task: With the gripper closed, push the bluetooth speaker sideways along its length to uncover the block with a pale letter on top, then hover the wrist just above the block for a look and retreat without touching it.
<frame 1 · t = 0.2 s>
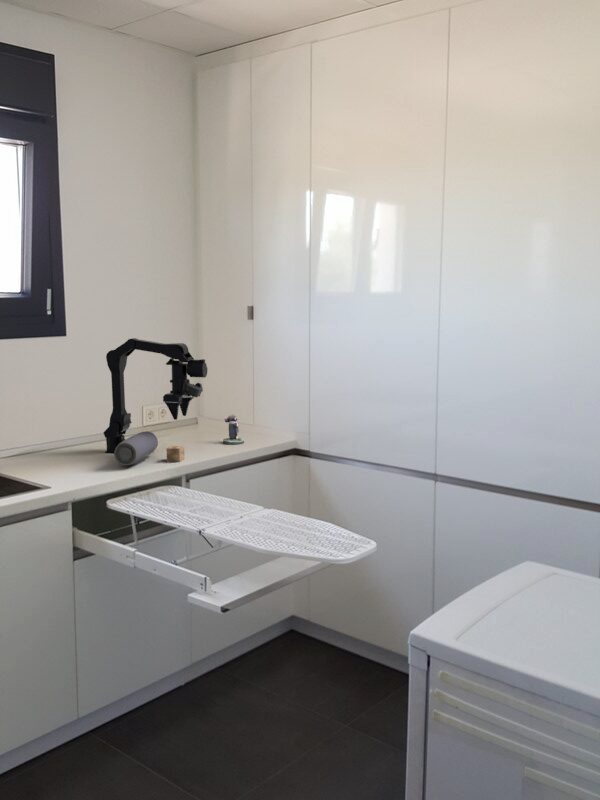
hand: (180, 417, 303), 14 cm above the worktop, fingers open, 9 cm apart
letter block: (175, 460, 293), on the worktop
bluetooth speaker: (137, 462, 292), on the worktop
figurine: (233, 443, 326), on the worktop
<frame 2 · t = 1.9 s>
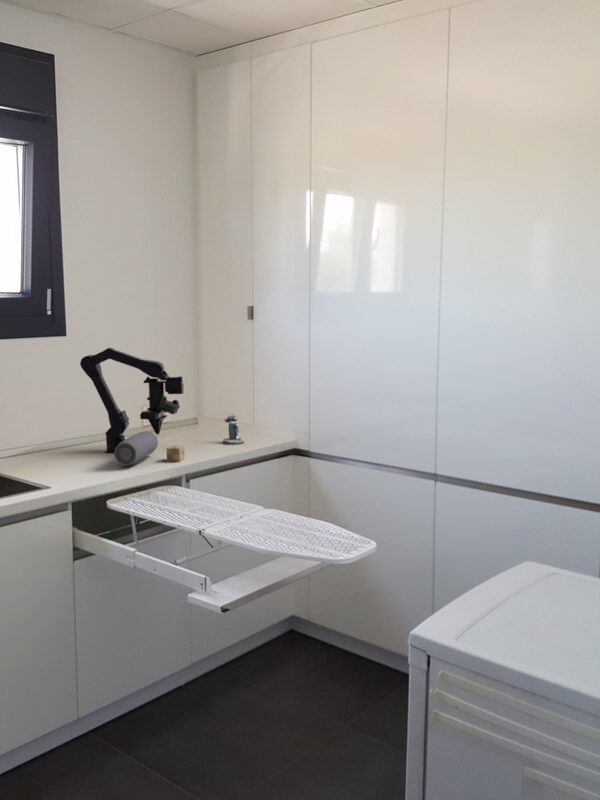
hand: (157, 434, 310), 7 cm above the worktop, fingers closed
nothing on the worktop moved.
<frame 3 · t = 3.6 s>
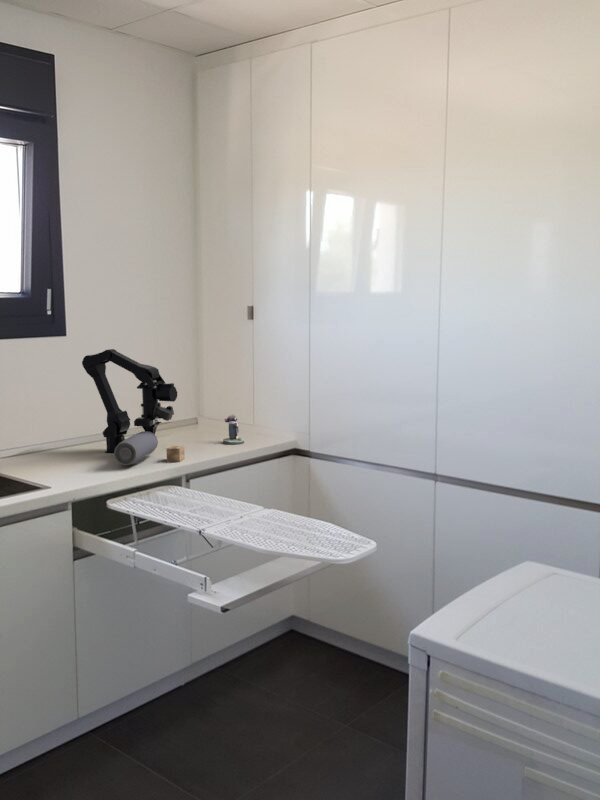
hand: (151, 441, 304), 5 cm above the worktop, fingers closed
bluetooth speaker: (137, 462, 291), on the worktop, touching gripper
everything else where it was.
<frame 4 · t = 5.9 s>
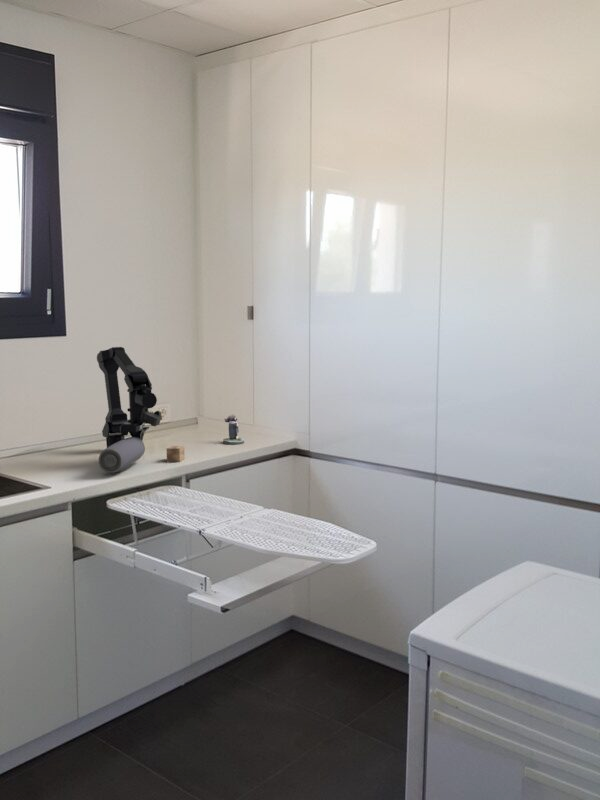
hand: (139, 447, 293), 5 cm above the worktop, fingers closed
bluetooth speaker: (123, 469, 280), on the worktop, touching gripper
everything else where it was.
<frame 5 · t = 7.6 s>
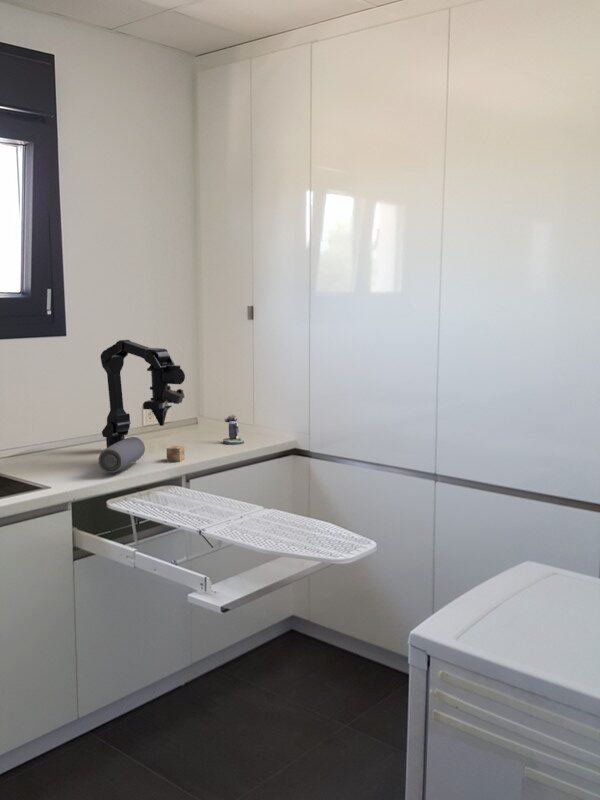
hand: (161, 425, 293), 13 cm above the worktop, fingers closed
bluetooth speaker: (123, 469, 280), on the worktop
everything else where it was.
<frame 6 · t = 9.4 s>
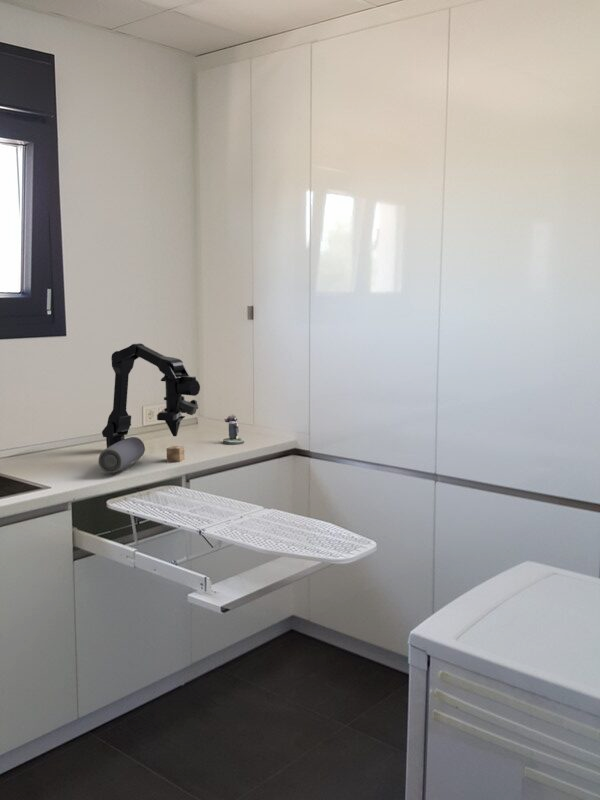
hand: (175, 436, 292), 9 cm above the worktop, fingers closed
nothing on the worktop moved.
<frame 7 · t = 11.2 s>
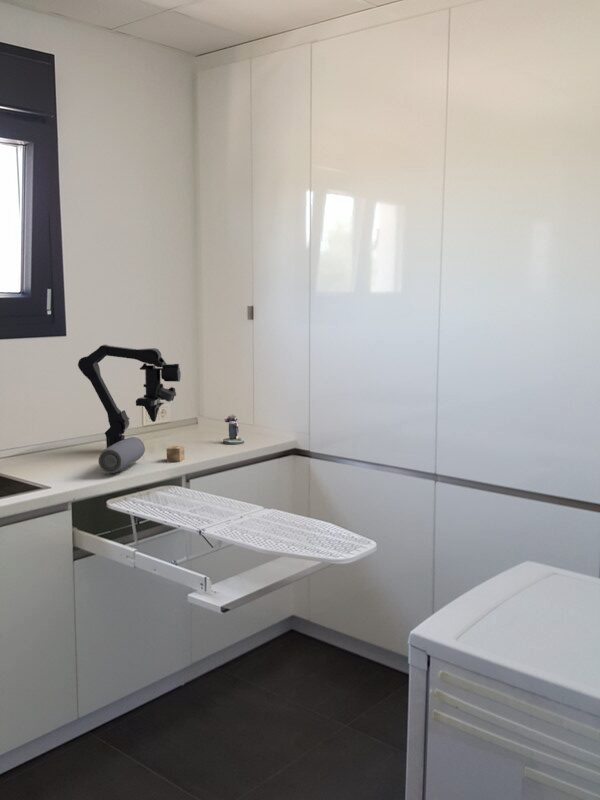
hand: (153, 421, 308), 12 cm above the worktop, fingers closed
nothing on the worktop moved.
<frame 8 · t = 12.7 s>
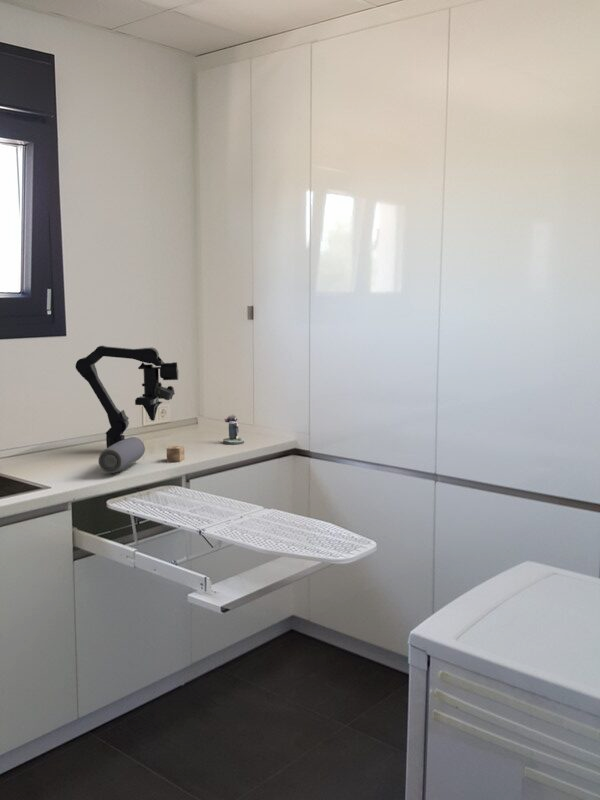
hand: (152, 420, 310), 12 cm above the worktop, fingers closed
nothing on the worktop moved.
at the end: bluetooth speaker moved 11.9 cm from its start; bluetooth speaker tilted 0°; letter block moved 0.1 cm from its start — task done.
